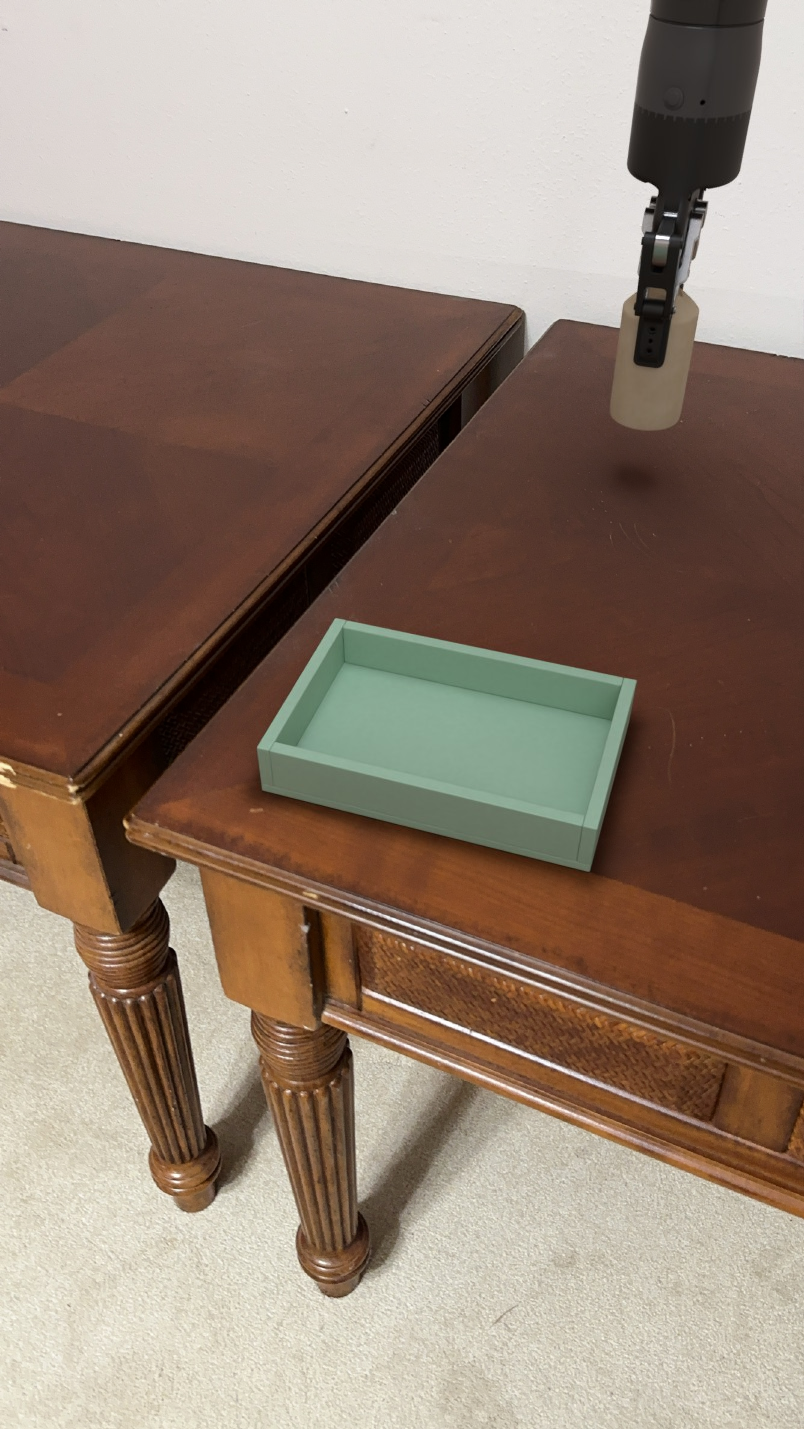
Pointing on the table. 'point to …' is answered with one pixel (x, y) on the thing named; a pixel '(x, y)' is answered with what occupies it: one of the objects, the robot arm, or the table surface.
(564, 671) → the tray
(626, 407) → the candle
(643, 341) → the robot arm
